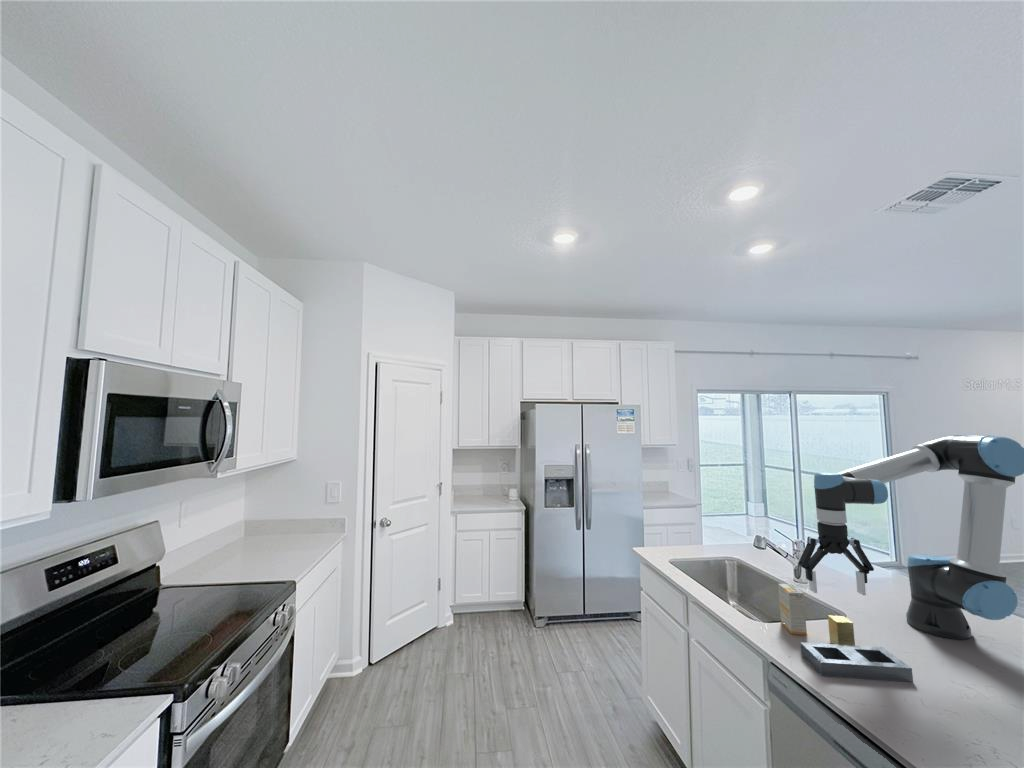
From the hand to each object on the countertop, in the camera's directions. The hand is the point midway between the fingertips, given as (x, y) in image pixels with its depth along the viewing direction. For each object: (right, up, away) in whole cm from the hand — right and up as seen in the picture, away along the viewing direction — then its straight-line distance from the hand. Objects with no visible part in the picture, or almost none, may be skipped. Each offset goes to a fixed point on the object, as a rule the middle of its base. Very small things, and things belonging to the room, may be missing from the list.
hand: (837, 592), depth 129 cm
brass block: (0, -16, -2) cm, 16 cm away
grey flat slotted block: (-5, -15, -13) cm, 20 cm away
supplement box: (-7, -17, +10) cm, 21 cm away
